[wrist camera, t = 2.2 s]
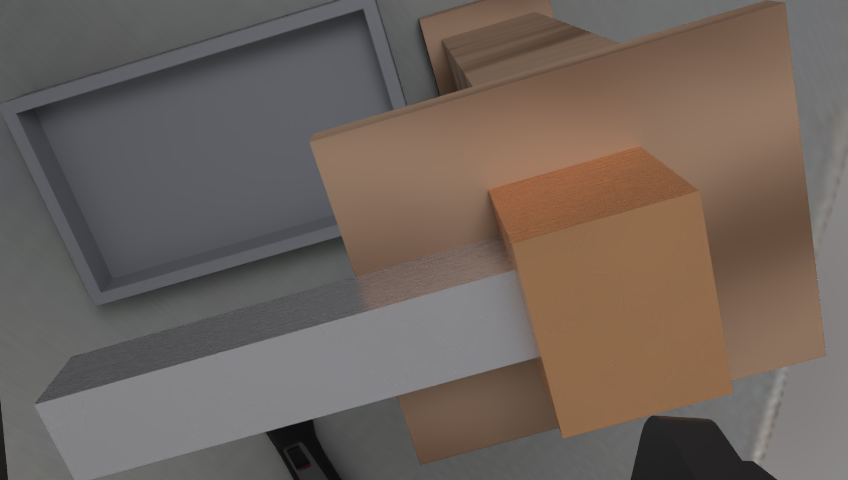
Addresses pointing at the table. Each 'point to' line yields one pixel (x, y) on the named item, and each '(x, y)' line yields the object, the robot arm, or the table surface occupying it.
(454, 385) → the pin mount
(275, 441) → the electric trimmer
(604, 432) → the table surface
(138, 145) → the parts tray
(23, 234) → the table surface
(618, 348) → the lock pin
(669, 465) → the robot arm
